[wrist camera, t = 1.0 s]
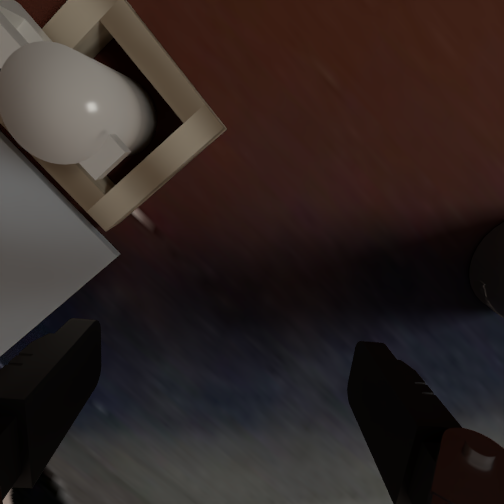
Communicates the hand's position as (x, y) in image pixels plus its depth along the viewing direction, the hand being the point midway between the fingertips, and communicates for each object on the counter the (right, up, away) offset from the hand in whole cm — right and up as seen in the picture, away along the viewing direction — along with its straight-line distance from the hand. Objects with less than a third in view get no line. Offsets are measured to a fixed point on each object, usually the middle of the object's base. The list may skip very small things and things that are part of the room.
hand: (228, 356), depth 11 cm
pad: (-22, +4, +19) cm, 29 cm away
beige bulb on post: (-11, +15, +15) cm, 24 cm away
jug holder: (-10, +14, +16) cm, 23 cm away
